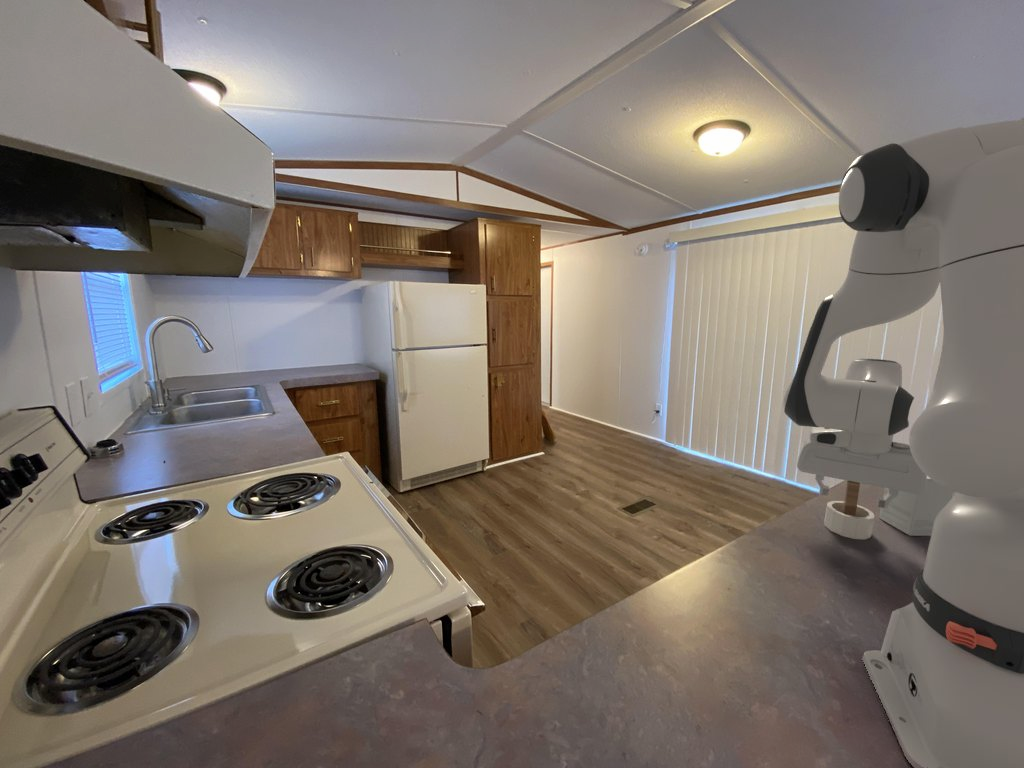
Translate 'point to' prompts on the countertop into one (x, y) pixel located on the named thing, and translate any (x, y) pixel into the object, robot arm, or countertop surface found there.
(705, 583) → the countertop surface
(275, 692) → the countertop surface
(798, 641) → the countertop surface
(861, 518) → the faceted white cup
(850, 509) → the brown rectangular block
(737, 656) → the countertop surface
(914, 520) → the supplement box
